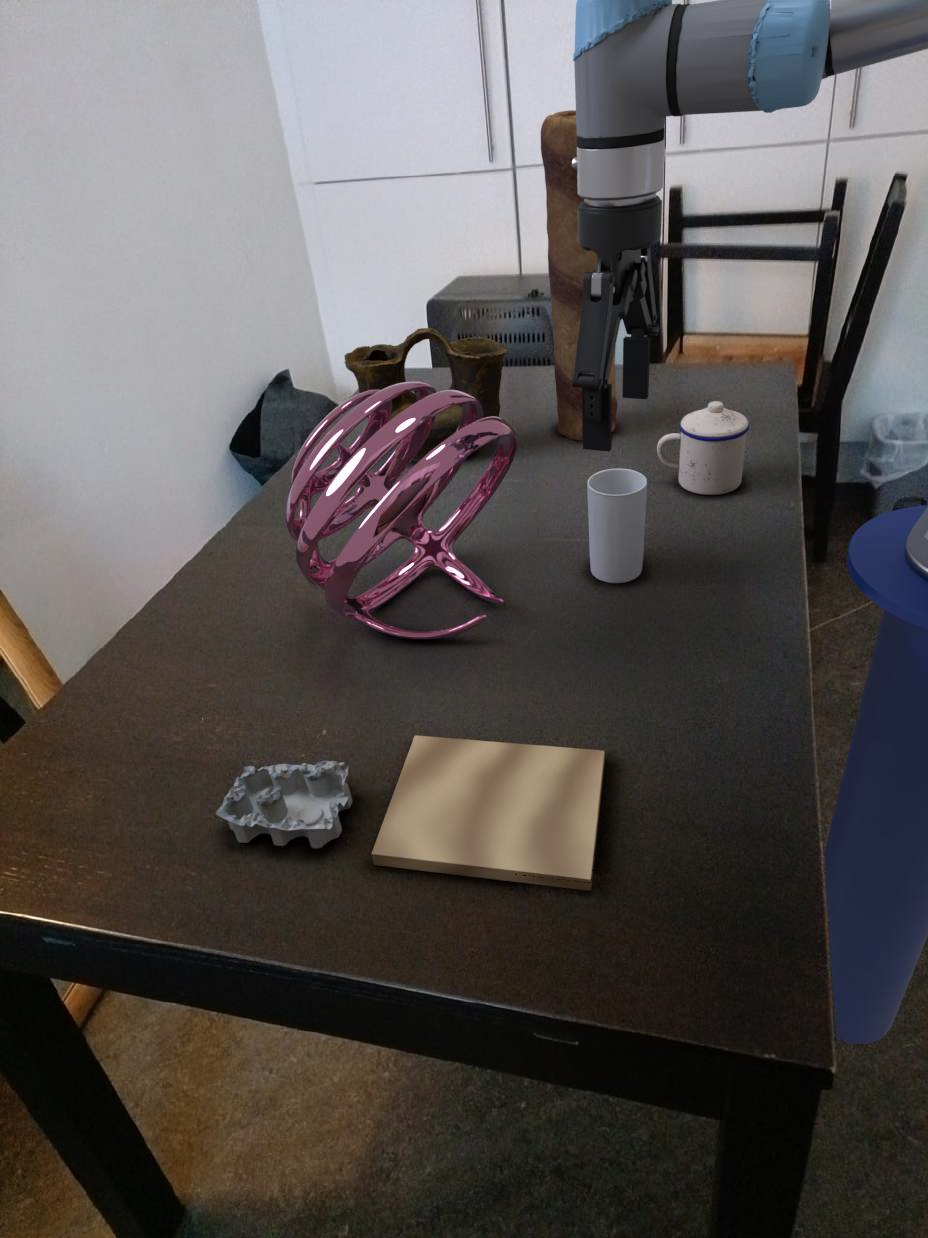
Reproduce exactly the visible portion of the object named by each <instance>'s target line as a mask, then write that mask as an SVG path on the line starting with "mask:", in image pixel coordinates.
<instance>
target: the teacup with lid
mask: <svg viewBox="0 0 928 1238" xmlns="http://www.w3.org/2000/svg"><path fill="white" fill-rule="evenodd" d="M679 430H680V432H679V433H678V432H677V433H676V432H675V433H674V432H673V433H667V434H665V435H663V436H662V437H661V438H660V439H659V440H658V442H657V446H656V452H657V457H658V459H659V460H660V462H661V463H662V464H663V465H664V466H666V467H668V468H673V469H678V477H677V479H678V480H677V481H678V483H679V485H680V486H681V487H682V488H683V489H685V490H686V491H688V492H690V493H694V494H697V495H704V496H719V495H724V494H728V493H731V492H733V491H735V490H736V489H738V488H739V487H740V485H741V484H742V482H743V480H742V479H743V472H744V471H743V470H744V463H745V462H744V461H745V453H746V452H745V451H746V442H747V433H748V431H749V430H750V423H749V420H748V418H747V417H746V416H745V415H744V414H742V413H740V412H738V411H735V410H731V409H728V408H726V407H724V403H723V402H722V401H719V400H714V401H710V402H709V403H708V404H707V407H704V408H702V409H698V410H694V411H692V412H689V413H687V414H686V415H684V416H683V417H682V419H681V421H680V422H679ZM670 441H680V442H679V444H680V445H679V461H678V460H677V461H676V460H670V459H669V458H667V457H666V456H665V454H664V452H663V447H664V445H665V444H666V443H667V442H670Z"/></svg>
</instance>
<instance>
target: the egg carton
mask: <svg viewBox="0 0 928 1238" xmlns="http://www.w3.org/2000/svg"><path fill="white" fill-rule="evenodd" d="M349 768H350V765H349V764H348V763H347V762H345V761H342V762H340V761H338V760H321V761H316V764H310V763H306V762H302V763H301V764H289V763H279V764H272V765H269V766H262V767H260V768H257V767H256V766H255V765H248V766H243V768H242V773H241V775H240V777H239V776H237V777H236V778H235V781H234V784H233V786H231V788H229V791H228V793H227V794H226V795H225V796H224V797H223V802H222V805H221V806H219V808H218V809H217V810H216V812H215V815H217V816H218V817H220V818H222V819H223V820H226V821H227V823H228V825H229V829H230V830H231V831H233V833H234V834H235V838H236V840H237V842H238V843H240V844H241V843H242V844H245V843H246V844H249V843H250V842H251V841H252V840H253V839H254V838H256V837H258V835H262V834H266V835H270V836H271V840H272V843H273V845H274V846H278V847H279V846H280V847H284V846H286V845H288V843H289V842H290V841H291V840H294V839H295V838H298V837H305V838H307V839H308V842H309V845H310V847H311V848H312V849H322V848H323V847H324V846H325V845H326V844H327V843H329V842H330V841H332V840H335V839H337V838H339V837H340V835H341V833H342V832H343V828H342V824H341V820H340V817H339V813H340V812H341V811H343V810H348V809H350V808H351V806H352V804H353V797H352V793H351V790H350V789H351V788H350V787H349V784H348V782H346V779H347V776H348V775H349Z"/></svg>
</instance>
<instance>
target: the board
mask: <svg viewBox="0 0 928 1238" xmlns="http://www.w3.org/2000/svg"><path fill="white" fill-rule="evenodd" d="M605 764H606V751H605V750H601V749H588V748H578V747H566V746H565V747H564V746H554V745H553V746H552V745H539V744H529V743H528V744H527V743H517V742H515V743H514V742H502V741H491V740H480V739H479V740H478V739H477V740H476V739H467V738H452V737H440V736H429V735H417V734H416V735H414V737H413V738H412V741H411V745H410V748H409V750H408V753H407V756H406V757H405V761H404V764H403V767H402V769H401V772H400V775H399V777H398V780H397V783H396V785H395V788H394V791H393V793H392V797H391V800H390V802H389V804H388V807H387V809H386V813H385V815H384V817H383V821H382V823H381V826H380V830H379V832H378V835H377V837H376V840H375V843H374V845H373V849H372V851H371V853H370V854H371V857H372V861H373V865H374V866H381V867H388V868H395V869H403V870H413V871H421V872H430V873H438V874H446V875H456V876H462V877H471V878H479V879H488V880H497V881H505V882H511V883H512V882H514V883H521V884H529V885H538V886H546V887H554V888H555V887H556V888H563V889H571V890H572V889H573V890H580V891H587V892H591V891H592V887H593V880H594V879H593V878H594V868H595V860H596V849H597V840H598V832H599V821H600V812H601V802H602V793H603V784H604V776H605V775H604V774H605V773H604V772H605V766H606V765H605ZM592 870H593V871H592ZM515 874H517V875H515ZM523 875H526V876H523ZM529 875H530V876H529ZM532 876H535V877H532ZM539 876H540V877H544V878H540V877H539ZM549 878H554V879H549ZM557 879H565V880H557ZM591 879H592V880H591ZM566 880H570V881H566ZM573 880H575V881H581V882H574V881H573ZM583 882H591V883H583Z"/></svg>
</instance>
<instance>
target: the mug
mask: <svg viewBox="0 0 928 1238" xmlns="http://www.w3.org/2000/svg"><path fill="white" fill-rule="evenodd" d="M586 484H587V486H586V487H587V489H586V492H587V494H586V495H587V516H588V517H587V520H588V538H589V539H588V547H589V565H590V566H589V567H590V573H591V574H592V576H593V577H595V579H597V580H599V581H602V582H604V583H607V584H623V583H627V582H628V583H629V582H631V581H633V580H636V579H637V578H638V577H639V576H640V575H641V574H642V571H643V563H644V548H645V547H644V546H645V530H646V512H647V495H648V479H647V477H646V476H645V475H644V474H643V473H641V472H639V471H637V470H634V469H629V468H622V467H621V468H620V467H619V468H617V467H616V468H609V469H603V470H601V471H597V472H595V473H594V474H592V475H591V476H589V478H588V479H587V483H586Z"/></svg>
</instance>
